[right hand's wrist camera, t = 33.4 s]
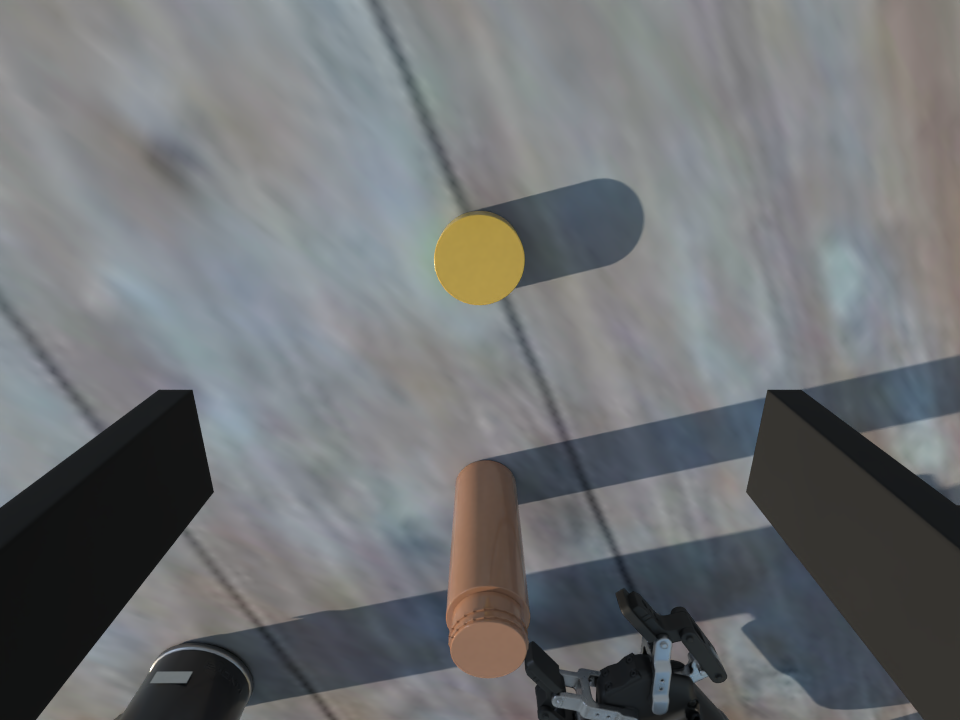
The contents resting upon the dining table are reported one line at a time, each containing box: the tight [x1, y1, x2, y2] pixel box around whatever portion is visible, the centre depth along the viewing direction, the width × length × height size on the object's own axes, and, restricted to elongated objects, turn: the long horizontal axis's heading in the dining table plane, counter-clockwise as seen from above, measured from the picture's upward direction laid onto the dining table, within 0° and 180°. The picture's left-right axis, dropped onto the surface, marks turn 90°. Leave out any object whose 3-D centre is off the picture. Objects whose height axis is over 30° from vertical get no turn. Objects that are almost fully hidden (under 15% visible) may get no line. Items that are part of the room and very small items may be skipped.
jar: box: [446, 460, 530, 678], centre depth 37 cm, size 5×5×16 cm
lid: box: [434, 211, 525, 305], centre depth 36 cm, size 6×6×2 cm
